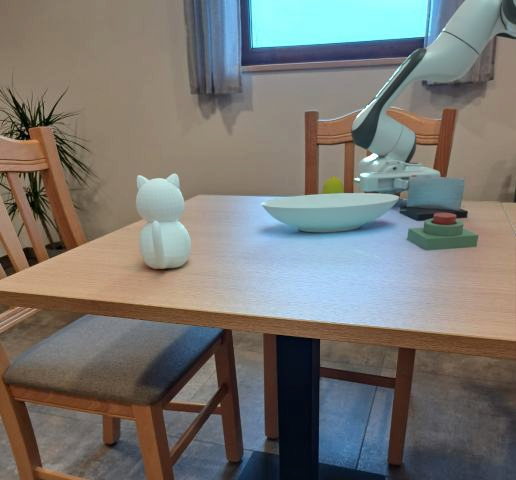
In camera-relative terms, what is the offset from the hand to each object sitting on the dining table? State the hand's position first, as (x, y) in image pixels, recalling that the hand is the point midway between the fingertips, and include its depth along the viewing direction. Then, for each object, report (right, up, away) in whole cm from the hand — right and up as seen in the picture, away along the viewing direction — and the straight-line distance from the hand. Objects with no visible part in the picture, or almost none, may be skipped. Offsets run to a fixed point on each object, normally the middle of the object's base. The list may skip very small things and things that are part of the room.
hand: (411, 185), depth 111 cm
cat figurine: (-53, -25, -29) cm, 65 cm away
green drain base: (-2, -19, -22) cm, 29 cm away
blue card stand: (+5, -6, -1) cm, 8 cm away
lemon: (-17, -3, +10) cm, 20 cm away
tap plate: (+5, -7, -1) cm, 9 cm away
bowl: (-21, -13, -9) cm, 26 cm away
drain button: (-2, -16, -24) cm, 28 cm away
